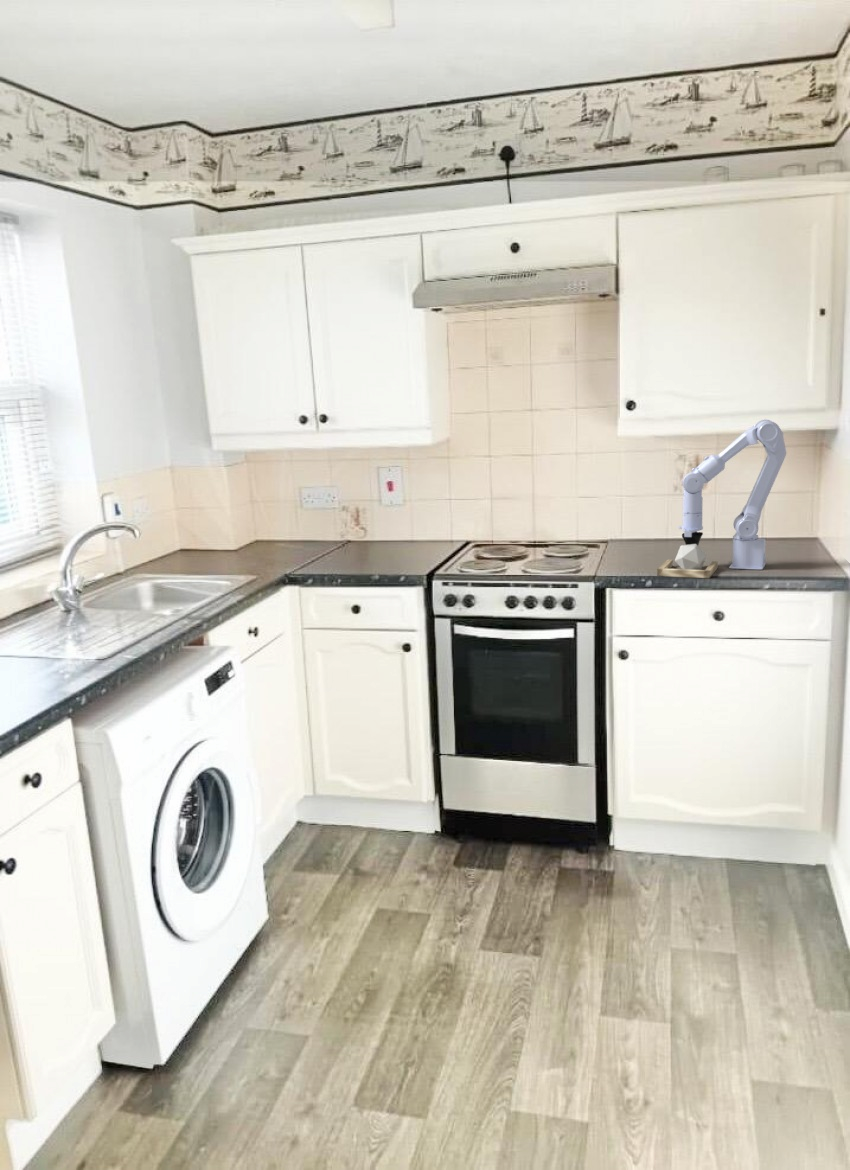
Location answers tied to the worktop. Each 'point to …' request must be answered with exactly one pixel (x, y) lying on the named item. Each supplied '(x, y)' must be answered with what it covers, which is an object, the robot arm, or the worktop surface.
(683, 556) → the die
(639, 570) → the worktop surface
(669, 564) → the corral
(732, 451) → the robot arm
